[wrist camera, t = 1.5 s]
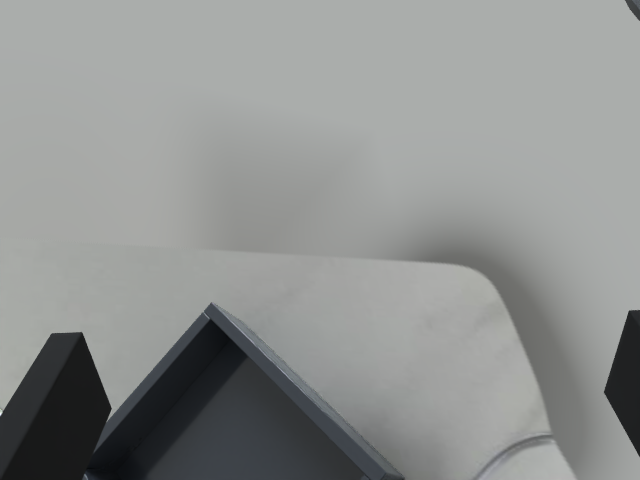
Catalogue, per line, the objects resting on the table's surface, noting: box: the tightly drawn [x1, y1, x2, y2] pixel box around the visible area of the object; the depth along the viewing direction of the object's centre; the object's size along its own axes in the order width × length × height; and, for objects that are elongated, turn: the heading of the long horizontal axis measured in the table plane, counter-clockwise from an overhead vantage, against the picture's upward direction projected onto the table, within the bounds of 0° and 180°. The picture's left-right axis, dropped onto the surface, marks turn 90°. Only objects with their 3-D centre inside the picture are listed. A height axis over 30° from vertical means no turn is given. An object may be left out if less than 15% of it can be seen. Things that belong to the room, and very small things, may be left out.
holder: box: [82, 302, 404, 480], centre depth 39 cm, size 16×18×5 cm
